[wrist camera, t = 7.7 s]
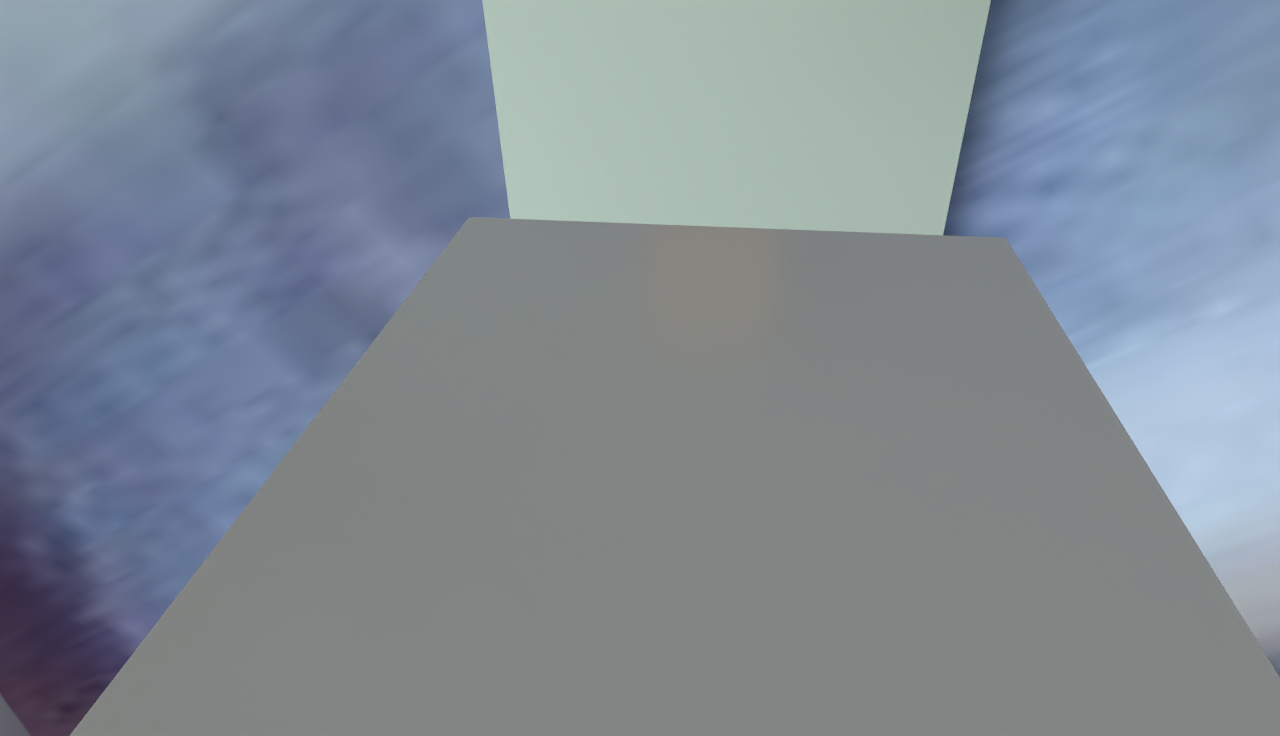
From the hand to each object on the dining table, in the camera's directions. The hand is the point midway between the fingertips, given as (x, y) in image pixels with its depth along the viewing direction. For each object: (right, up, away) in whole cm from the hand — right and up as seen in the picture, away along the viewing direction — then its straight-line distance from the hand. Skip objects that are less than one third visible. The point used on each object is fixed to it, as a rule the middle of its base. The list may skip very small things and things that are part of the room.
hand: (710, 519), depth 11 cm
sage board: (+2, +9, +15) cm, 17 cm away
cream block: (0, +1, +1) cm, 2 cm away
